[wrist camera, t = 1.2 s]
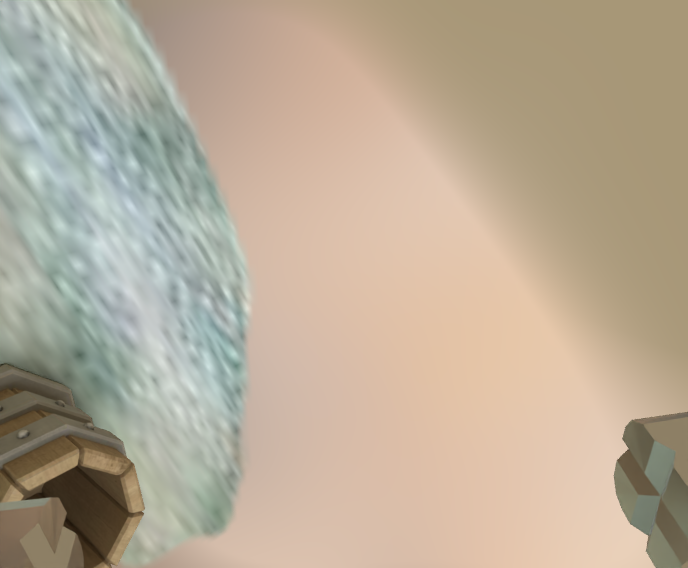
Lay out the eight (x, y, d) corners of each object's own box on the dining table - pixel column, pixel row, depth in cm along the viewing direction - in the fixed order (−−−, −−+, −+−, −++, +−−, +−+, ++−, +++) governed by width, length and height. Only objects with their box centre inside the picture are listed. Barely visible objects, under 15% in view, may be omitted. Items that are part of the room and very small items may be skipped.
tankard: (-132, 415, 43) (-68, 514, 33) (51, 344, 51) (147, 406, 42) (-42, 627, 51) (32, 759, 41) (105, 535, 59) (197, 626, 49)
